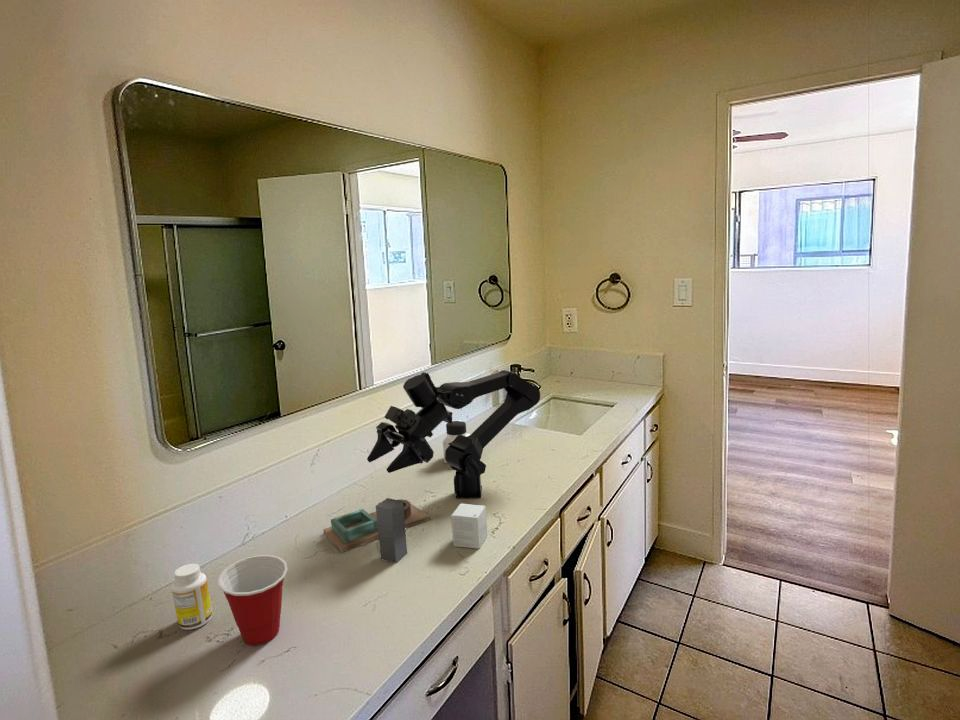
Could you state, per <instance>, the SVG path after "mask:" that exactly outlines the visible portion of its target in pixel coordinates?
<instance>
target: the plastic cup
mask: <svg viewBox="0 0 960 720" xmlns="http://www.w3.org/2000/svg"><path fill="white" fill-rule="evenodd" d="M287 573H288V564H287V562H286V561H285V560H284V559H283V558H282V557H279V556H275V555H272V554H271V555H270V554H263V555H261V554H259V555H258V554H257V555H254V556H248V557H244V558H242V559H240V560H237V561H235V562H233V563H231V564H230V565H228V566H227V567H225V568H224V569H223V570H222V572H221V573H220V574H219V575H218V577H217V581H218V583H217V586H218V587H219V588H220V590H222V592H223V594H224V595H225V598H226V600H227V602H228V605H229V607H230V610H231V613H232V616H233V619H234V621H235V624H236V626H237V628H238V631H239V633H240V637H241V639H242V640H243V642H244V643H245V644H246V645H248V646H253V647H254V646H261V645H263V644H267V643H268V642H270V641H273V640H274V639H275V638H276V637H277V635H278V634H279V631H280V628H281V626H280V625H281V624H280V623H281V613H282V599H283V597H282V596H283V586H284V581H285V576H286V575H287Z"/></svg>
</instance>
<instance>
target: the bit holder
mask: <svg viewBox="0 0 960 720" xmlns="http://www.w3.org/2000/svg"><path fill="white" fill-rule="evenodd" d="M398 500H400V501H403V509H404V520H405V528H406V529H408V528H411V527H413V526H416V525H419V524H421V523H425V522H426V521H429V520H430V515H429V514H428V513H426V512H424V511H423V510H421V509H419V507H417V506H415V505H413V504H412V503H411V502H410V501H409V500H407V499H402V498H401V499H400V498H399V499H398ZM330 524H331V525H330V526H329V527H326V528H323V534H324V535H325V536H326V537H327V538H328V539H329V540H330V541H331V542H332V543H333V544H334V545H335V547H337V549H339V550H340V552H341V553H344V552H346V551H349V550H352V549H354V548H357V547H359V546H362V545H365V544H368V543H370V542H373V541H376V540H379V536H378V526H377V516H376V511H373V512H370V513H369V512H367V511H366V510H365V509H364V508H362V509H358V510H355V511H353V512H349V513H346V514H344V515H340V516H337V517H335V518H331V519H330Z"/></svg>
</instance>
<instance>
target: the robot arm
mask: <svg viewBox="0 0 960 720" xmlns="http://www.w3.org/2000/svg"><path fill="white" fill-rule="evenodd" d="M402 387H403V389H404V390H403V391H404V392H405V393H406V395H407V396H408V398H409V399H410V401H411V402H412V404H413V405H414V406H415V407H416V408H421V409H419V410H418V411H417V412H415V411H413V410H412V409H410V408H406V409H405V410H403V409H401V408H399V407H396V406H393V405H390V407H389V409H387V412H386V413H385V415H384V417H383V419H386V420H389V421H390V422H392V423H394V424H395V425H393V424H391V423H388V422H385V421H383V422H382V421H381V422H380V423H379V424H378V425H377V426H376V434H377V439H376V441H375V444H374V446H373V448H372V449H371V451H370V452H369V454H368V456H367V458H366V460H367V461H368V463H372V462H374V461H376V460H378V459H379V458H381V457H384V456H385V455H387V454H389V453H391V452H393V451H394V450H395V448H396V447H398V446H400V445H402V450H401V452H399V454H398V455H397V456H396V457H395V458H394V459H393V461H391V463H390V464H389V465H388V466H387V467H386V471H387V473H389V474H390V473H393V472H397V471H400V470H402V469H405V468H409V467H411V466H414V465H418V464H421V465H422V464H423V463H426V464H428V463H429V462H430V461H431V460H432V459H433V458H434V454H435V453H434V452H435V451H434V450H433V448H432V447H431V445H430V444H429V442H428V441H427V439H426V438H431V437H433V436H434V433H433V431H434V430H435V429H436V428H437V427H438V426H439V425H441V423H442V422H445V423H446V424H447V423H450V424H451V423H452V421H453V414H454V413H453V412H452V411H449V410H448V409H447V407H448V408H451V409H454V410H460V409H462V408H464V407H467V406H468V405H470V404H471V403H472V402H473V401H474V399H477V398H478V397H482V396H484V395H487V394H490V393H494V392H497V391H499V390H504V391H505V392H506V395H505V399H504V402H503V403H502V404H501V405H500V406H498V408H496V409H495V410H494V412H492V413H491V414H490V415H489V416H488V417H487V418H486V419H485V420H484V421H483V422H482V423H481V424H480V425H479V426H478V427H477V428H476V429H474V431H473V432H472V433H470V435H469V436H467V437H466V436H463V435H458V436H457V437H456V438H455V439H454V441H452V442H451V443H449V444H448V445H450V446H449V447H448V448H447V449H446V451H445V453H446V454H445V460H446V462H447V463H446V464H447V465H449V467H450V469H451V470H453V471H455V475H454V477H453V487H454V488H453V489H454V494H455V499H479V498H481V497H482V490H483V486H482V481H481V477H482V476H481V475H483V474H485V473H486V468H487V465H486V464H485V463H484V462H483V461H482V460H481V459H482V456H483V452H484V448H485V447H486V446H487V445H488V444H489V443H490V442H491V441H492V440H493V439H495V437H497V436H498V434H500V432H501V431H502V430H503V429H504V428H505V427H507V426H508V424H509V423H510V422H511V421H513V419H514V418H515V417H516V416H517V415H519V414H522V413H524V412H526V411H529V410H531V409H532V408H534V407H535V406H537V404H538V403H539V402H540V400H541V391H540V388H539V387H538V386H537V385H534V384H532V383H530V382H528V381H527V380H526V379H524V378H522V377H520V376H519V375H518V374H517V373H516V372H514V371H510V370H507V369H504V370H500V371H498V372H496V373H492V374H488V375H485V376H482V377H479V378H475V379H473V380H470V381H463V382H461V381H454V382H453V381H452V382H444V383H442V384H440V385H439V386H436V385H435V384H434V382H433V381H432V378H431V376H430V374H429V373H428V372H424V371H423V372H422V373H420V374H418V375H415V376H413V377H410V378H408V379H407V380H406V381H405V382H404V383H403V385H402Z"/></svg>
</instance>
